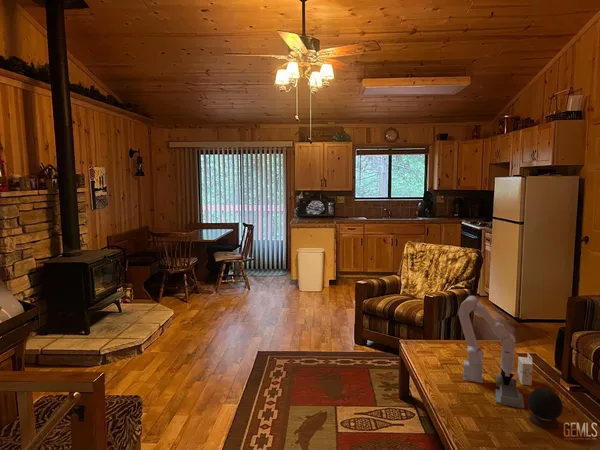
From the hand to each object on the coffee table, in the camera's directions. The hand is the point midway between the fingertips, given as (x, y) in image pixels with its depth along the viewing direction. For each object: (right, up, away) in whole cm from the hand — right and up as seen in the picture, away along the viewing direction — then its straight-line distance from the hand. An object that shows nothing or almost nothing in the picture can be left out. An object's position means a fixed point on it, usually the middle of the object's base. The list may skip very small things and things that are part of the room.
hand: (506, 383), depth 217 cm
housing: (0, -1, 0) cm, 1 cm away
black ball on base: (+2, -5, -31) cm, 31 cm away
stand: (-4, -3, -12) cm, 13 cm away
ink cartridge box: (+12, -1, +6) cm, 14 cm away
